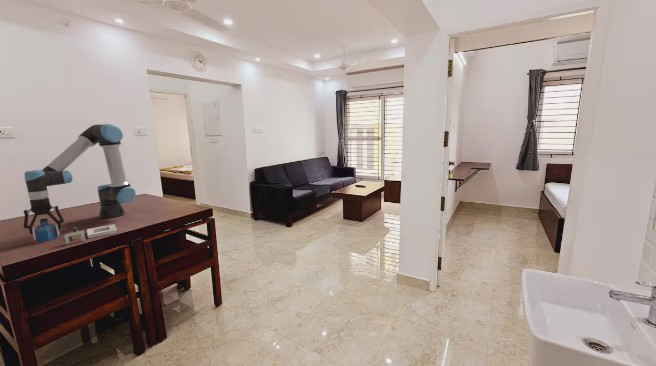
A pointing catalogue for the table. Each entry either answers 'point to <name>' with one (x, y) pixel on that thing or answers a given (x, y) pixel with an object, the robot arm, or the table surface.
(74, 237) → the lock bar
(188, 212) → the table surface
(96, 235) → the socket
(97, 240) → the table surface
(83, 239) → the keeper
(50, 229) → the perfume bottle
